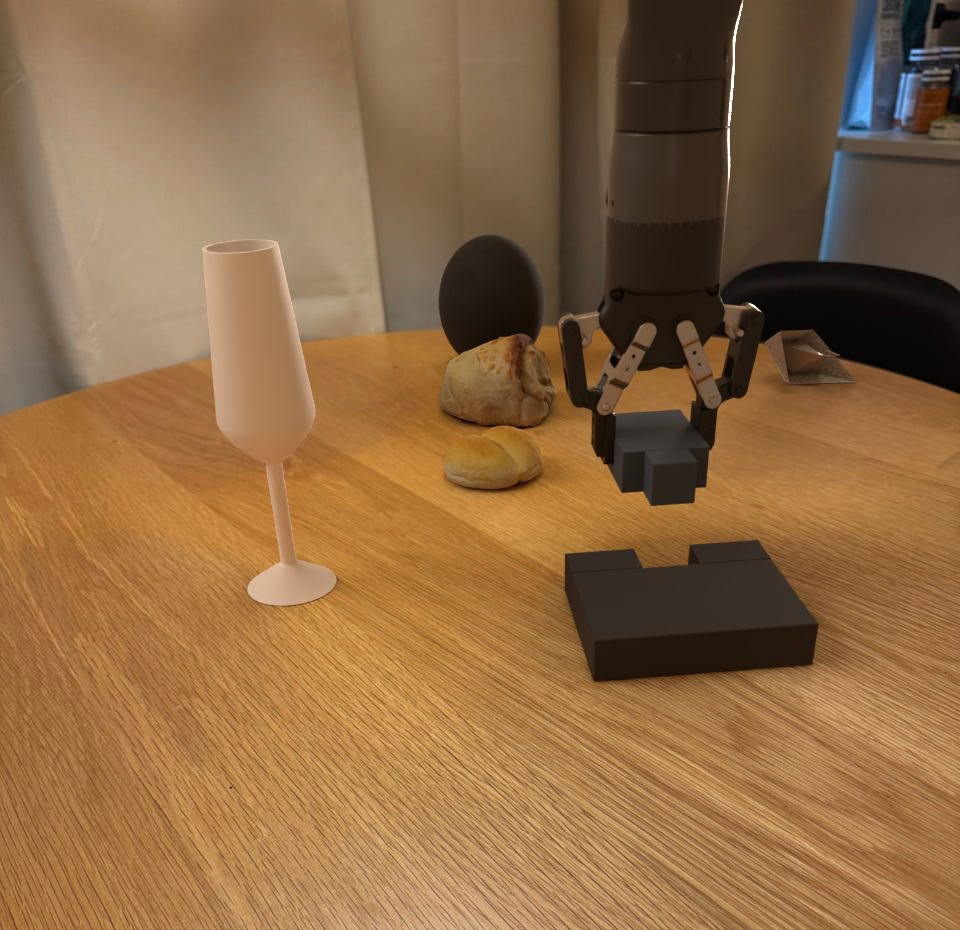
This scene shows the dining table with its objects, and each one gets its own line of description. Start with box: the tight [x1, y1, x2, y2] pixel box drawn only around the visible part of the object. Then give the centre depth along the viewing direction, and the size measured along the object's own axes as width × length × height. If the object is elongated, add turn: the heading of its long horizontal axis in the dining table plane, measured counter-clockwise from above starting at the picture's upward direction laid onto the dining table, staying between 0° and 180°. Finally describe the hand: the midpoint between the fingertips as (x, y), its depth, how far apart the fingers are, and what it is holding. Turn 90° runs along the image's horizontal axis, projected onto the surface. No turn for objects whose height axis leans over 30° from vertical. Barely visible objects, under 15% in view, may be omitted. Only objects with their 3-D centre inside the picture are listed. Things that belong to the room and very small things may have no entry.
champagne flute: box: [201, 238, 338, 607], centre depth 69 cm, size 7×7×24 cm
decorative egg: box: [438, 234, 546, 356], centre depth 117 cm, size 12×12×15 cm
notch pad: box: [564, 539, 820, 682], centre depth 67 cm, size 14×12×3 cm
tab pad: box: [606, 409, 710, 507], centre depth 71 cm, size 6×10×3 cm, turn 5°
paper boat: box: [763, 329, 857, 385], centre depth 110 cm, size 12×6×9 cm
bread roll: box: [442, 425, 545, 490], centre depth 91 cm, size 8×9×4 cm
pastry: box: [438, 334, 558, 428], centre depth 106 cm, size 14×12×8 cm
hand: (652, 457), depth 73 cm, fingers closed on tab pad, 6 cm apart
